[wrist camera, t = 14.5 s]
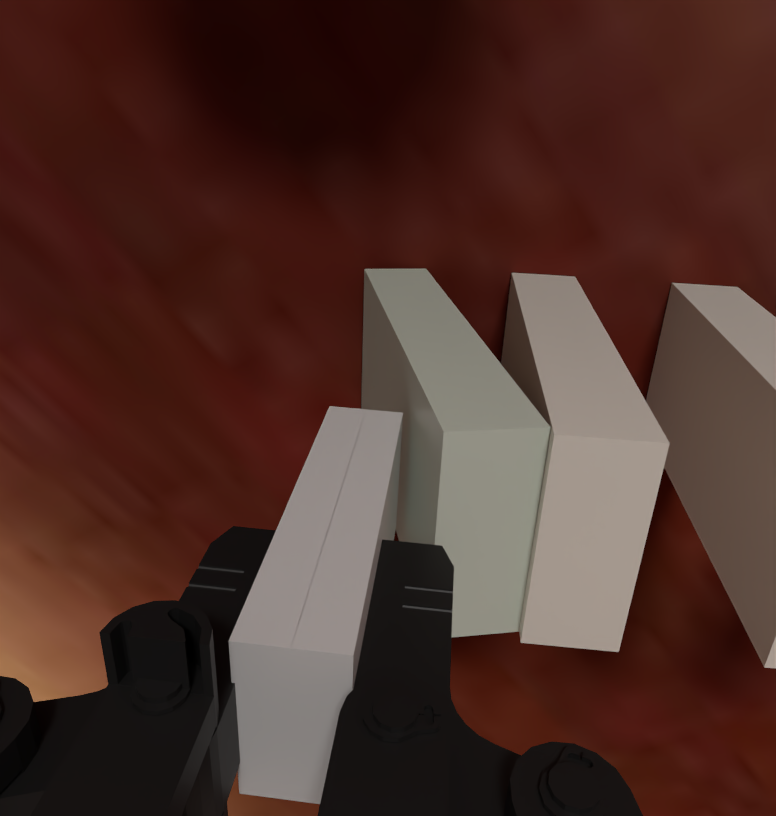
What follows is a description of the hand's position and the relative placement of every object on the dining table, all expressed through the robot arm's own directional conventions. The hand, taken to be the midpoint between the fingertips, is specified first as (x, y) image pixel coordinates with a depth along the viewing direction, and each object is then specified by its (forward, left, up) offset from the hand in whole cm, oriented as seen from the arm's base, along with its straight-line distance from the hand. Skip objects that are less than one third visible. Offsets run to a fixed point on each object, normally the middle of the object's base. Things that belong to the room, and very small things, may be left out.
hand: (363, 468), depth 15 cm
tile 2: (+4, 0, -8) cm, 9 cm away
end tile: (0, 0, -7) cm, 7 cm away
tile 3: (+9, 0, -8) cm, 12 cm away
